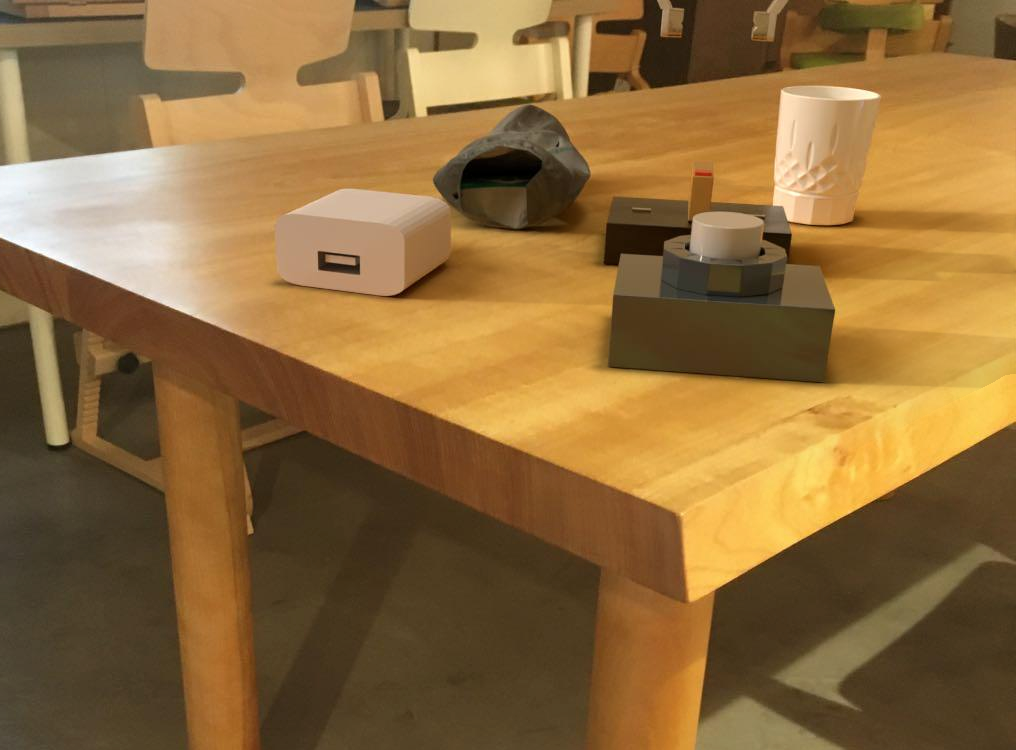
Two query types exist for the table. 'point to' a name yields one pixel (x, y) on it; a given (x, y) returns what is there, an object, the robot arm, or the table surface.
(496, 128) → the grey pouch
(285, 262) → the charger
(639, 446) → the table surface
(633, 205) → the panel
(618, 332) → the button base box
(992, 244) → the table surface
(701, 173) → the tan block
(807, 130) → the white cup
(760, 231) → the white push button
